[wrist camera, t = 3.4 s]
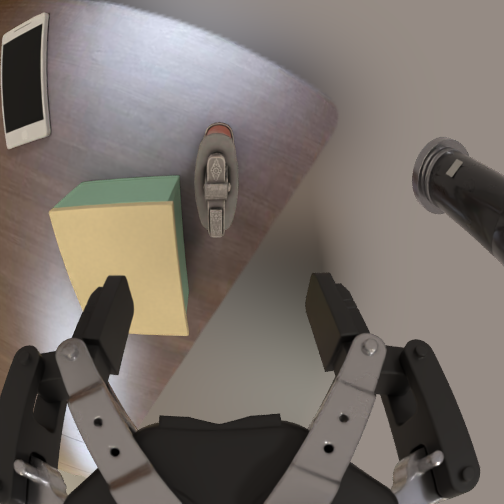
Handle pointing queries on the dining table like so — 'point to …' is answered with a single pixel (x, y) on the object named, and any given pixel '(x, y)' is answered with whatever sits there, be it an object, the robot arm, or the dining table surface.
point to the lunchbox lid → (126, 258)
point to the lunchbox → (131, 193)
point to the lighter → (216, 179)
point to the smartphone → (25, 82)
